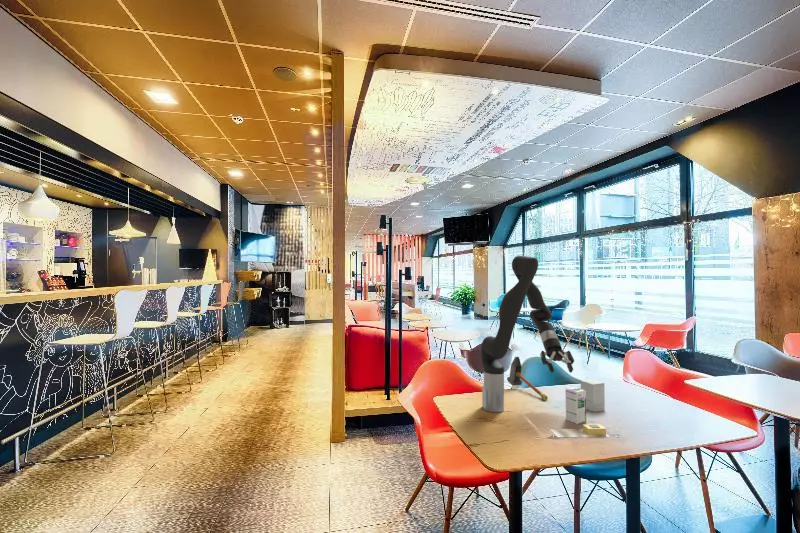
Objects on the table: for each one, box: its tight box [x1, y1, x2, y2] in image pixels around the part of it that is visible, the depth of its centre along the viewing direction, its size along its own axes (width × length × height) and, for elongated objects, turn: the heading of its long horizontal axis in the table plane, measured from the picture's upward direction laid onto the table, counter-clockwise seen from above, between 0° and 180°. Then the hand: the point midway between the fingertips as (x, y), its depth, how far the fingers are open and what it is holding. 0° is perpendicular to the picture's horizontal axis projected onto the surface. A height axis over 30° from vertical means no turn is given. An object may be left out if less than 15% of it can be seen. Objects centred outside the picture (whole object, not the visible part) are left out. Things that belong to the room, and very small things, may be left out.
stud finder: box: [582, 423, 607, 435], centre depth 142 cm, size 7×4×3 cm, turn 92°
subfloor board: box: [549, 428, 610, 438], centre depth 142 cm, size 20×14×1 cm
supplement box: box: [580, 378, 606, 413], centre depth 172 cm, size 7×7×13 cm
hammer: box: [506, 356, 548, 401], centre depth 196 cm, size 6×16×30 cm
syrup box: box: [564, 386, 587, 425], centre depth 154 cm, size 6×6×14 cm
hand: (562, 371), depth 166 cm, fingers open, 8 cm apart
